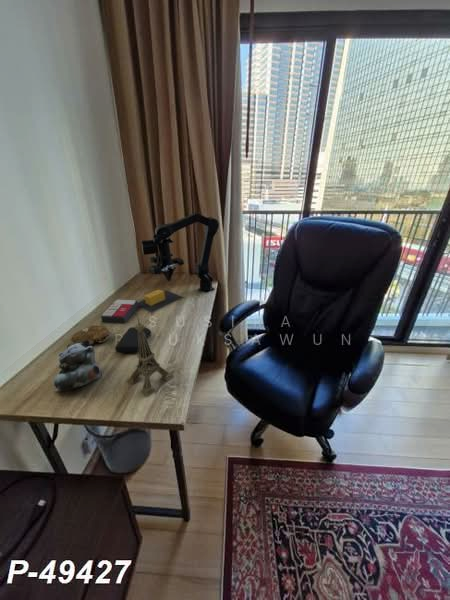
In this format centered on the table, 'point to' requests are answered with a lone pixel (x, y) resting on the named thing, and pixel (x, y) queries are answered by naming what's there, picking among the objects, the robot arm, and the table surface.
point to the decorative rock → (91, 334)
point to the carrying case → (131, 340)
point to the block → (154, 297)
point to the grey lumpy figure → (76, 367)
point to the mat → (168, 300)
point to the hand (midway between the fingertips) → (168, 281)
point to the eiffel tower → (146, 363)
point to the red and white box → (119, 311)
